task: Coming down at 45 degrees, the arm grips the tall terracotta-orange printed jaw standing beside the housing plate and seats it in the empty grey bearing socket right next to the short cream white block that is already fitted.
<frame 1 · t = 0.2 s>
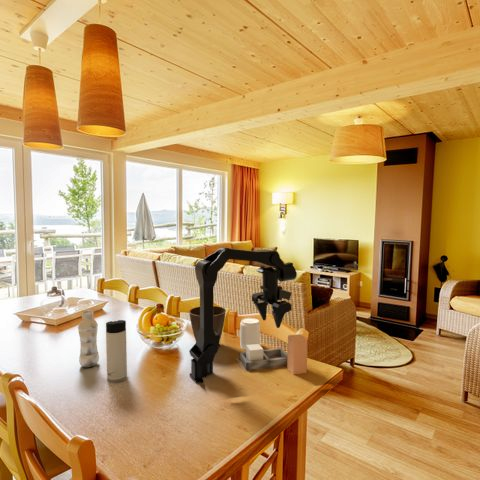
hand: (271, 323, 125), 14 cm above the table, tool pointing down, fingers open, 9 cm apart
travel mug: (117, 379, 111), on the table
cream white block: (254, 363, 121), point 1 cm above the table, touching housing
jaw tall: (296, 373, 116), on the table
plant pot: (207, 348, 137), on the table
beverage can: (249, 349, 136), on the table
housing: (264, 364, 122), on the table
plastic bottle: (89, 366, 120), on the table
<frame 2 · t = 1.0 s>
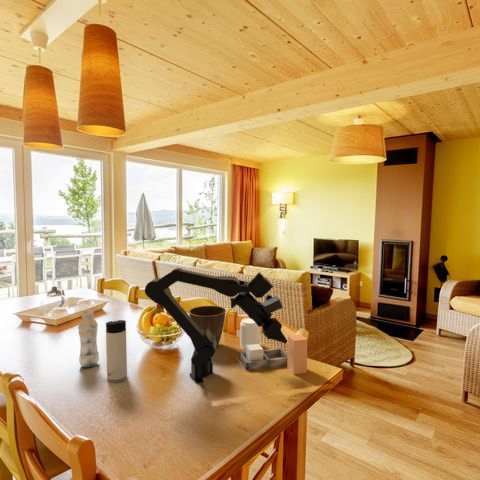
hand: (282, 337, 114), 13 cm above the table, tool tilted 45°, fingers open, 9 cm apart
nothing on the table moved.
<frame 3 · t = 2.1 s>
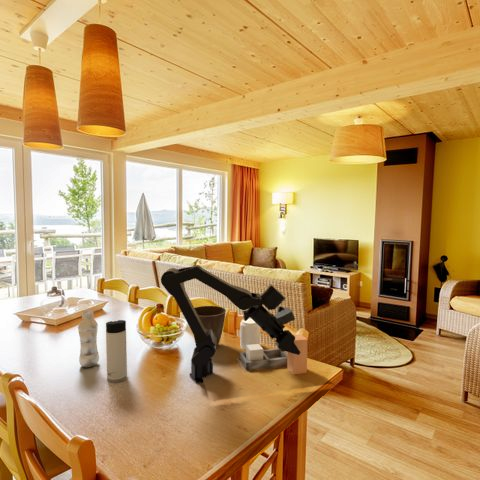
hand: (294, 348, 115), 9 cm above the table, tool tilted 45°, fingers open, 9 cm apart
nothing on the table moved.
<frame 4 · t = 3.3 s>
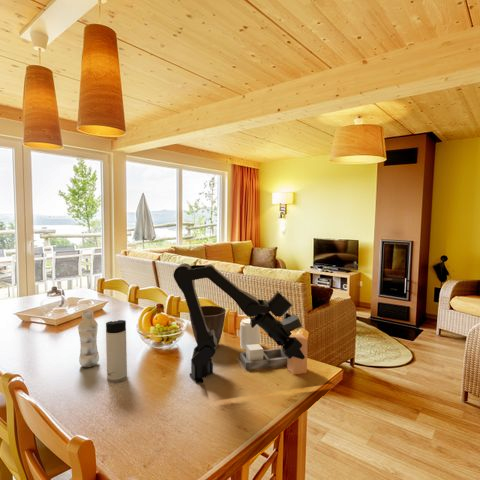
hand: (300, 354, 115), 7 cm above the table, tool tilted 45°, fingers closed on jaw tall, 5 cm apart
jaw tall: (296, 373, 116), on the table, touching gripper
everything else where it was.
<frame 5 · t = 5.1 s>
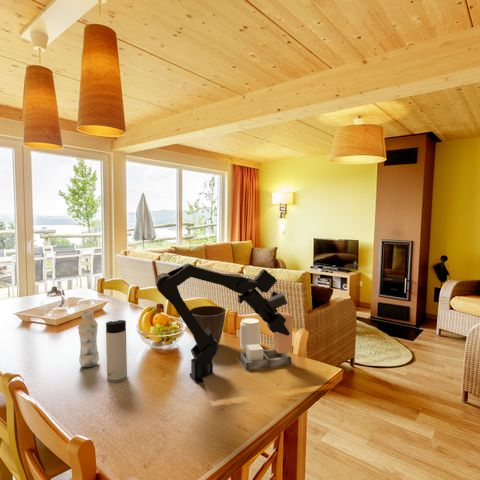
hand: (286, 331, 119), 13 cm above the table, tool tilted 45°, fingers closed on jaw tall, 5 cm apart
jaw tall: (282, 349, 119), point 7 cm above the table, touching gripper
everything else where it was.
when the fingers open (9 cm above the table, at t = 6.6 s): jaw tall drops 1 cm, resting on housing.
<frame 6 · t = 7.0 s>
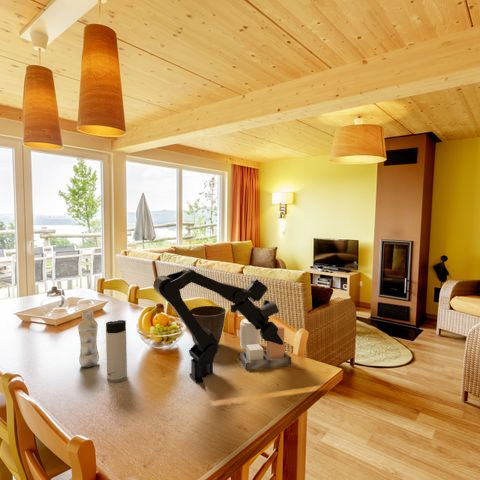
hand: (278, 339, 123), 9 cm above the table, tool tilted 45°, fingers open, 9 cm apart
jaw tall: (274, 360, 123), point 1 cm above the table, touching housing
everything else where it was.
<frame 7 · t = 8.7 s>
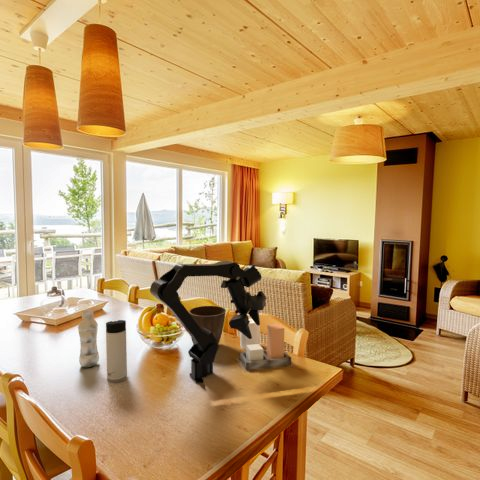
hand: (254, 331, 121), 13 cm above the table, tool tilted 25°, fingers open, 9 cm apart
nothing on the table moved.
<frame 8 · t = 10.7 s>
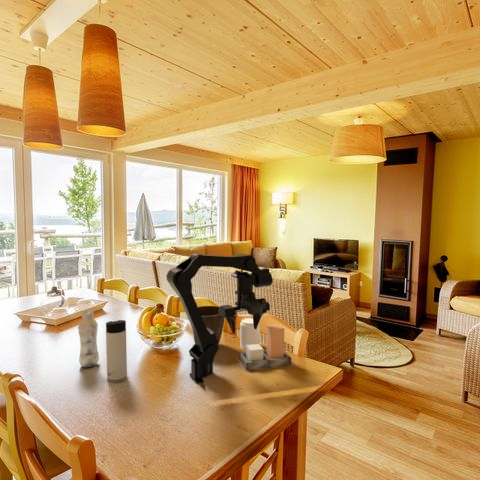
hand: (244, 331, 120), 13 cm above the table, tool pointing down, fingers open, 9 cm apart
nothing on the table moved.
at the end: jaw tall 0.0 cm from the target spot on the housing, point 1.2 cm above the housing's base; jaw tall tilted 0°; jaw tall 8.1 cm from the cream white block (horizontally) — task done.
